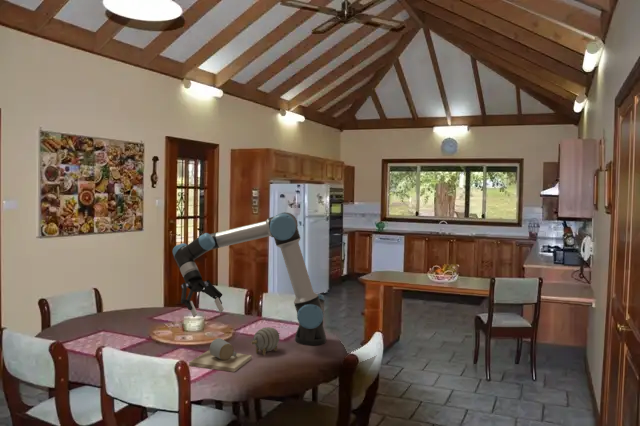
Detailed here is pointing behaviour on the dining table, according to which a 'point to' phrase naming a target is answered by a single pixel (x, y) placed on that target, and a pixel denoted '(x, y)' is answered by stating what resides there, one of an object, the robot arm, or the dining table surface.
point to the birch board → (220, 362)
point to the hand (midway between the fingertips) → (208, 313)
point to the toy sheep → (266, 339)
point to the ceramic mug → (222, 349)
